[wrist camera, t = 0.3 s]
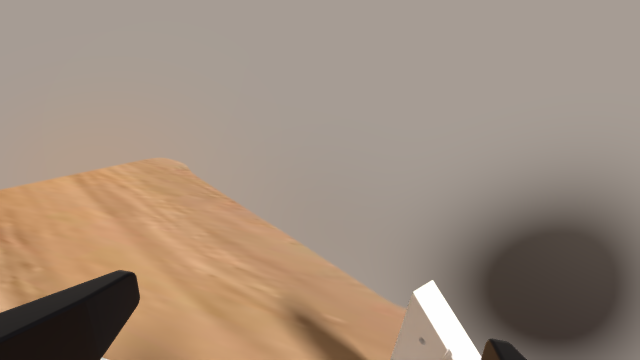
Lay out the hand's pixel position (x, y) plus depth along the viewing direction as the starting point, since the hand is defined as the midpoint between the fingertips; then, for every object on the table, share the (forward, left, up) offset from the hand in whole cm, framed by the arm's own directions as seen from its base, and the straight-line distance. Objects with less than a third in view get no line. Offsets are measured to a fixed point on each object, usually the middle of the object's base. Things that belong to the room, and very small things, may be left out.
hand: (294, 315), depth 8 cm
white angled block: (+7, -7, -16) cm, 19 cm away
